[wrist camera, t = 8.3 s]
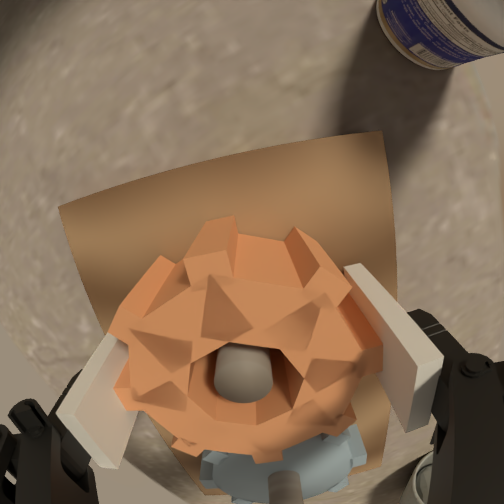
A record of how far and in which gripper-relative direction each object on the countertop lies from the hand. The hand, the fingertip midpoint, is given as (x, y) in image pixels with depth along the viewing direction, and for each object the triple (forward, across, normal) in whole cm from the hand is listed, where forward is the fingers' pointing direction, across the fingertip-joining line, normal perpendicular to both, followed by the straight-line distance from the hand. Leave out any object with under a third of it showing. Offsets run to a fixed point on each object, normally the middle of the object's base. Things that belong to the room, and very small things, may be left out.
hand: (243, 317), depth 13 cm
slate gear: (0, 0, -10) cm, 10 cm away
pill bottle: (+2, +12, +12) cm, 17 cm away
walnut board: (+2, 0, -5) cm, 5 cm away
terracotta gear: (0, 0, 0) cm, 0 cm away
